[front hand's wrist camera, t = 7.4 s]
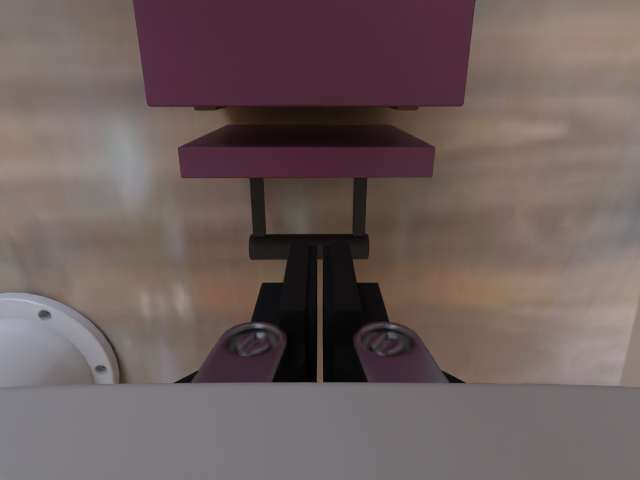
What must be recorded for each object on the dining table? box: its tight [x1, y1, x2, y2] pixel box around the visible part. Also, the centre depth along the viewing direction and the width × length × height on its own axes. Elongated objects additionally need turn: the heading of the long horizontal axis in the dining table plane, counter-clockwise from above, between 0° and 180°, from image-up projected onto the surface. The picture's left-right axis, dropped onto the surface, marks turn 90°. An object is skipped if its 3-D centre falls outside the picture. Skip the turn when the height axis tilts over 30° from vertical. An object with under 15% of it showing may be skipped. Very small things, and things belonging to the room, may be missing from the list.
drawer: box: [178, 106, 435, 260], centre depth 19 cm, size 21×10×10 cm, turn 0°
